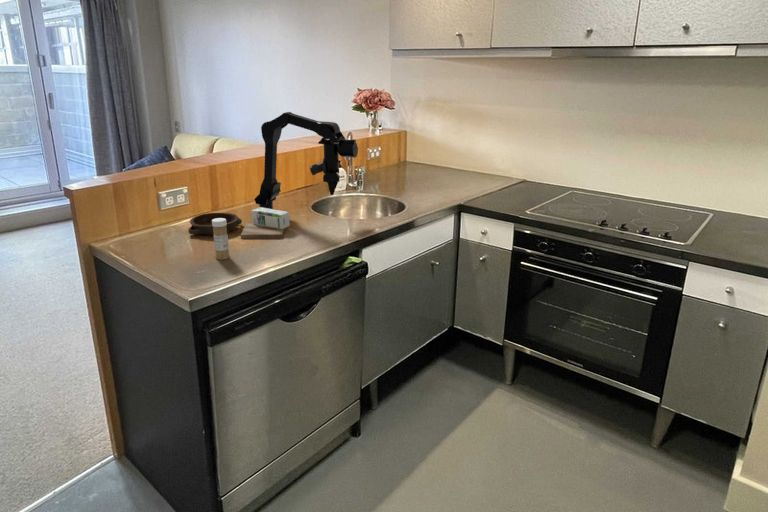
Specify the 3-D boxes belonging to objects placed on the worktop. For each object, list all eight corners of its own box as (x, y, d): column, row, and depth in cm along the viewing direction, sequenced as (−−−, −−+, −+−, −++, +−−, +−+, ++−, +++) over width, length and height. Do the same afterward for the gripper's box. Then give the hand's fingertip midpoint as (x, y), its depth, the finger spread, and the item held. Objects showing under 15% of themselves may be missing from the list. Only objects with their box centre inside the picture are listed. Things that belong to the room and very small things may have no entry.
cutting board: (248, 225, 210) (248, 221, 210) (286, 225, 211) (285, 221, 211) (241, 238, 195) (240, 234, 195) (281, 238, 196) (281, 234, 196)
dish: (177, 231, 202) (176, 219, 200) (228, 220, 217) (227, 208, 215) (201, 242, 191) (200, 229, 189) (252, 229, 206) (251, 217, 204)
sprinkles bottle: (225, 254, 179) (221, 216, 175) (232, 257, 177) (228, 219, 172) (212, 257, 176) (209, 219, 172) (220, 261, 173) (216, 222, 169)
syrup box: (281, 229, 201) (251, 224, 207) (290, 225, 206) (260, 220, 212) (280, 215, 199) (250, 210, 205) (289, 211, 204) (259, 206, 210)
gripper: (311, 151, 213) (312, 189, 219) (309, 160, 196) (310, 200, 201) (338, 151, 214) (339, 189, 219) (339, 160, 197) (339, 200, 202)
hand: (331, 194), depth 211 cm, fingers closed
